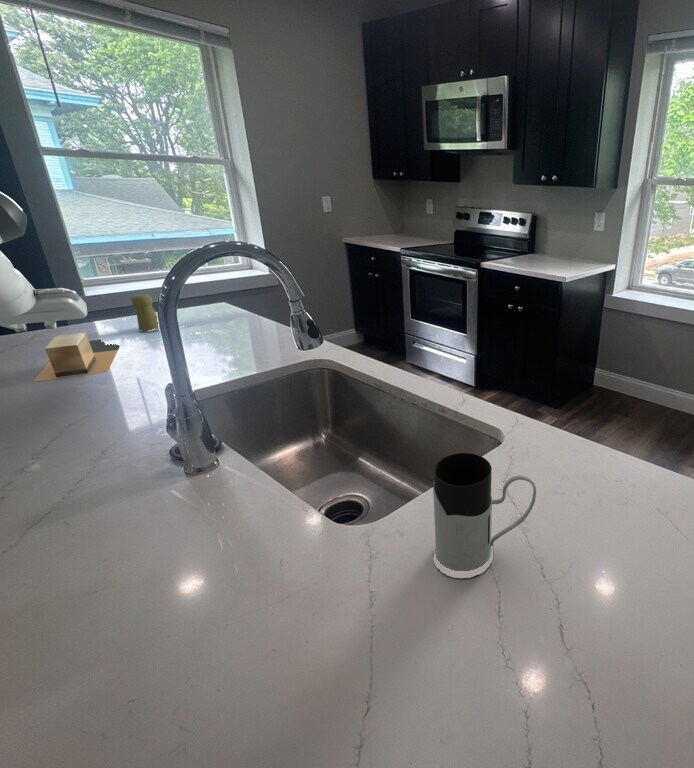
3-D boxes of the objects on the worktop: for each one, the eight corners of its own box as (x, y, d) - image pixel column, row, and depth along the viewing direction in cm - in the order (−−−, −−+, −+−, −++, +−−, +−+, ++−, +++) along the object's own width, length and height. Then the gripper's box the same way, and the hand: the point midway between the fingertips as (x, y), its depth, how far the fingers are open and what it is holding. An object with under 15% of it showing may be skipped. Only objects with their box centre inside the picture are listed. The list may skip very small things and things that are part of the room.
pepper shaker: (134, 331, 145) (122, 296, 141) (150, 325, 151) (140, 291, 146) (151, 333, 145) (140, 298, 140) (167, 327, 150) (157, 293, 145)
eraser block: (56, 377, 114) (44, 348, 111) (66, 362, 122) (55, 335, 118) (88, 373, 117) (77, 344, 113) (96, 359, 124) (86, 332, 121)
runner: (33, 382, 111) (33, 381, 111) (63, 344, 134) (63, 343, 134) (107, 372, 118) (107, 371, 118) (124, 337, 140) (124, 336, 140)
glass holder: (435, 533, 71) (432, 450, 64) (528, 532, 72) (534, 450, 65) (429, 579, 63) (425, 490, 56) (534, 578, 64) (541, 489, 57)
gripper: (71, 275, 95) (96, 309, 107) (-74, 283, 86) (-29, 320, 98) (74, 302, 94) (99, 333, 106) (-73, 313, 84) (-27, 347, 96)
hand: (37, 327), depth 102 cm, fingers open, 3 cm apart
